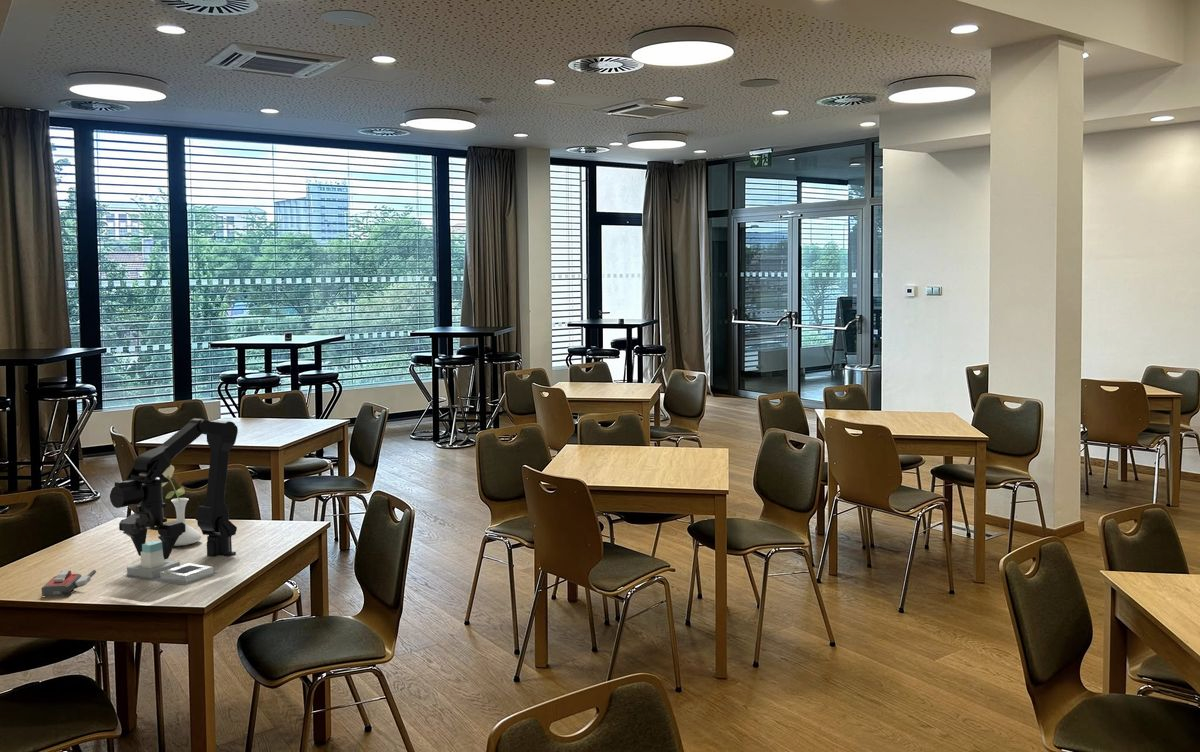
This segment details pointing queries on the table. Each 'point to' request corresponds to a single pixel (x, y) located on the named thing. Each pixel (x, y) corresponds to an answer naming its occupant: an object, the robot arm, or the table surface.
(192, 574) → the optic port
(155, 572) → the grey square socket frame
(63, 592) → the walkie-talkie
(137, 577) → the station board
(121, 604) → the table surface
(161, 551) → the plug
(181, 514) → the flower in vase
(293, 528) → the table surface
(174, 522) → the robot arm
